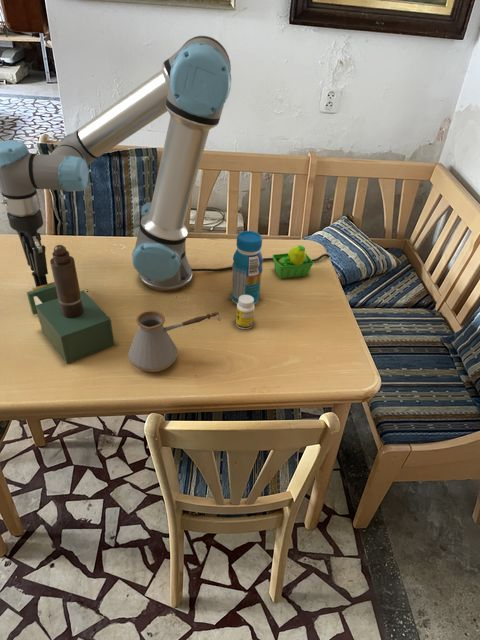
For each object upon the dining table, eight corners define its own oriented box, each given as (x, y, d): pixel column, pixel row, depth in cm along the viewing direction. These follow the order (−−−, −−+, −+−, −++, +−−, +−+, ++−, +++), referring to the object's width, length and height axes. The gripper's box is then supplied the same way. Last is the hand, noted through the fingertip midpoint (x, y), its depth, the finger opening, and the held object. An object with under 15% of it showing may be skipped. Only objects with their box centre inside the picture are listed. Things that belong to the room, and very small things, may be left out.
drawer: (26, 305, 128) (20, 284, 124) (66, 292, 134) (62, 272, 130) (53, 339, 119) (48, 319, 114) (95, 324, 124) (91, 304, 120)
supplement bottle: (235, 318, 133) (236, 293, 128) (252, 319, 134) (254, 293, 128) (235, 329, 129) (237, 303, 124) (253, 330, 130) (256, 304, 125)
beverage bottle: (226, 303, 138) (229, 240, 125) (234, 288, 145) (238, 226, 132) (255, 309, 137) (261, 246, 124) (262, 294, 144) (268, 232, 131)
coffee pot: (126, 377, 112) (119, 326, 102) (132, 345, 121) (126, 295, 111) (218, 378, 115) (221, 328, 105) (218, 347, 123) (220, 298, 114)
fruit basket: (302, 265, 159) (307, 233, 151) (313, 279, 152) (319, 247, 145) (269, 268, 155) (273, 236, 148) (280, 283, 149) (284, 250, 142)
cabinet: (42, 331, 122) (35, 305, 117) (88, 315, 128) (83, 290, 123) (66, 363, 114) (60, 336, 109) (114, 345, 120) (110, 319, 115)
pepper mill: (84, 305, 118) (72, 239, 107) (82, 318, 115) (70, 251, 103) (62, 306, 117) (48, 239, 106) (59, 318, 114) (44, 251, 102)
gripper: (-3, 203, 118) (20, 285, 133) (17, 224, 111) (38, 309, 126) (29, 197, 122) (48, 277, 137) (50, 217, 115) (67, 300, 130)
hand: (43, 292), depth 131 cm, fingers closed
